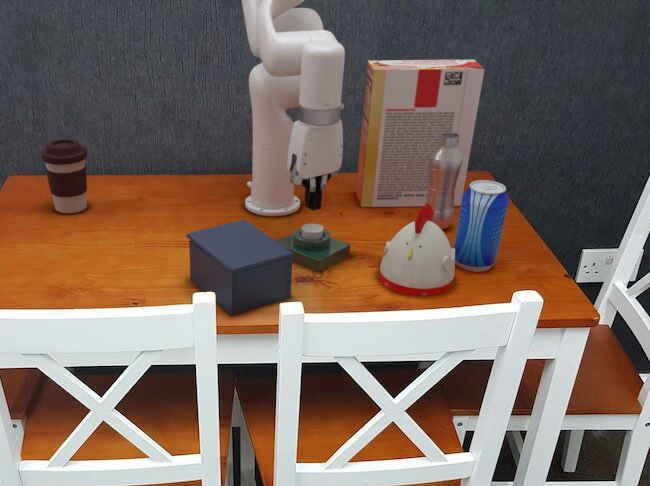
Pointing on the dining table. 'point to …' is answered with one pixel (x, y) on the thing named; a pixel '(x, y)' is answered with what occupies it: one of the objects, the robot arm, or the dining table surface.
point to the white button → (312, 231)
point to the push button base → (315, 250)
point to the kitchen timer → (419, 259)
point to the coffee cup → (66, 174)
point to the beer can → (480, 225)
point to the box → (241, 282)
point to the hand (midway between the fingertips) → (312, 207)
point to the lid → (239, 246)
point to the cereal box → (413, 126)
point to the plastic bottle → (444, 179)
